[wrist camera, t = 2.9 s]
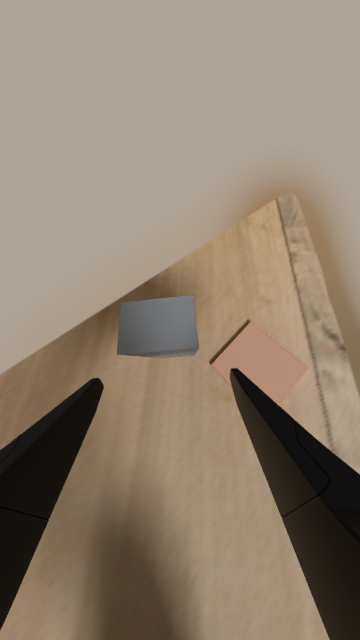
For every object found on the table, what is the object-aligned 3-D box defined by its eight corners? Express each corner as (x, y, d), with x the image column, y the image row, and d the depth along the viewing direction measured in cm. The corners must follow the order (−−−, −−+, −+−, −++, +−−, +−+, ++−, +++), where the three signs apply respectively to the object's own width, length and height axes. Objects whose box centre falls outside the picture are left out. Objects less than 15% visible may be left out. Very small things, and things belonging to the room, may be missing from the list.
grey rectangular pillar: (194, 355, 19) (199, 347, 8) (160, 358, 19) (116, 354, 8) (191, 332, 20) (192, 294, 9) (160, 335, 20) (120, 302, 9)
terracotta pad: (306, 366, 17) (308, 366, 17) (265, 420, 16) (267, 421, 15) (250, 321, 20) (251, 321, 19) (210, 364, 18) (210, 365, 18)
